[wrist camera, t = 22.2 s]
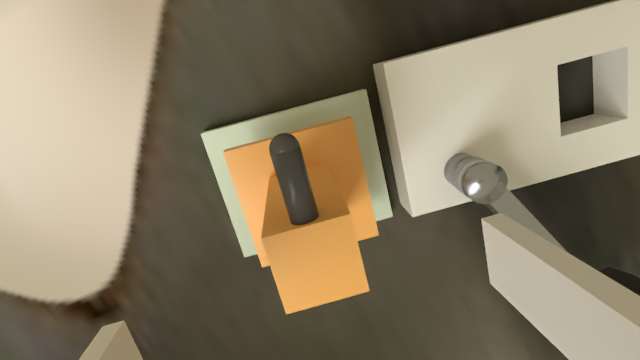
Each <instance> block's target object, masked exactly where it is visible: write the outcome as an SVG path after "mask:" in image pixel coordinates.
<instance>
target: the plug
mask: <svg viewBox="0 0 640 360" xmlns="http://www.w3.org/2000/svg"><path fill="white" fill-rule="evenodd" d="M223 154H224V157H225V160H226V163H227V166H228V169H229V172H230V175H231V178H232V181H233V184H234V187H235V190H236V192H237V195H238V198H239V201H240V204H241V207H242V210H243V213H244V216H245V219H246V222H247V225H248V228H249V231H250V233H251V236H252V239H253V242H254V245H255V248H256V251H257V254H258V257H259V260H260V263H261V266H262V267H266V266H269V265H270V267H271V270H272V273H273V276H274V279H275V282H276V285H277V288H278V291H279V294H280V297H281V300H282V303H283V306H284V309H285V312H286V314H290V313H293V312H297V311H300V310H304V309H308V308H311V307H315V306H318V305H322V304H326V303H329V302H333V301H336V300H340V299H343V298H347V297H351V296H354V295H358V294H361V293H365V292H369V291H370V290H369V286H368V282H367V278H366V274H365V270H364V266H363V262H362V258H361V254H360V250H359V246H358V242H357V241H360V240H364V239H367V238H371V237H375V236H378V235H379V233H378V228H377V224H376V220H375V215H374V211H373V206H372V202H371V197H370V193H369V188H368V184H367V179H366V175H365V171H364V166H363V162H362V157H361V153H360V148H359V144H358V139H357V135H356V131H355V126H354V122H353V118H352V117H351V116H347V117H343V118H340V119H336V120H332V121H328V122H325V123H321V124H317V125H314V126H310V127H306V128H302V129H299V130H295V131H291V132H288V133H280V134H278V135H276V136H273V137H269V138H265V139H261V140H258V141H254V142H250V143H247V144H243V145H239V146H235V147H232V148H228V149H225V150H224V152H223Z"/></svg>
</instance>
